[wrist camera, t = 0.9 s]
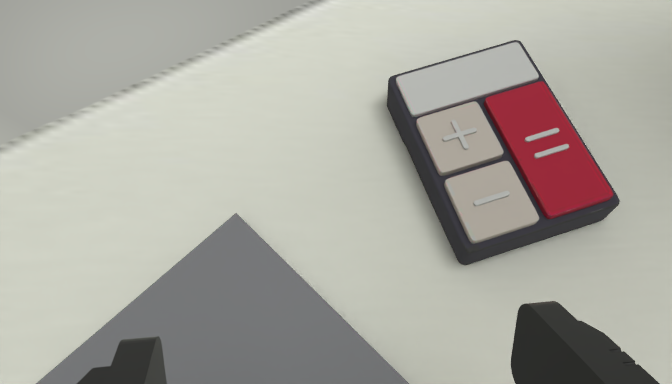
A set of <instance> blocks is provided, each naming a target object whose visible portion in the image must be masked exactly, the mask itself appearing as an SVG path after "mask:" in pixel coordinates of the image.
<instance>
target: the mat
mask: <svg viewBox="0 0 672 384" xmlns="http://www.w3.org/2000/svg"><path fill="white" fill-rule="evenodd" d="M156 336H159V337H160V339H161V343H162V350H163V358H164V366H165V373H166V381H167V384H409V383H408V382H407V381H406V380H405V379H404V378H403V377H402V376H401V375H400V374H399V373H398V372H397V371H396V370H395V369H394V368H393V367H392V366H391V365H389V364H388V363H387V362H386V361H385V360H384V359H383V358H382V357H381V356H380V355H379V354H378V353H377V352H376V351H375V350H374V349H373V348H372V347H371V346H370V345H369V344H368V343H367V342H366V341H365V340H364V339H363V338H362V337H361V336H360V335H359V334H358V333H357V332H356V331H355V330H354V329H353V328H352V327H351V326H350V325H349V324H348V323H347V322H346V321H345V320H344V319H343V318H342V317H341V316H340V315H339V314H338V313H337V312H336V311H335V310H334V309H333V308H332V307H331V306H330V305H329V304H328V303H327V302H326V301H325V300H324V299H323V298H322V297H321V296H320V295H319V294H318V293H317V292H316V291H315V290H314V289H312V288H311V287H310V286H309V285H308V284H307V283H306V282H305V281H304V280H303V279H302V278H301V277H300V276H299V275H298V274H297V273H296V272H295V271H294V270H293V269H292V268H291V267H290V266H289V265H288V264H287V263H286V262H285V261H284V260H283V259H282V258H281V257H280V256H279V255H278V254H277V253H276V252H275V251H274V250H273V249H272V248H271V247H270V246H269V245H268V244H267V243H266V242H265V241H264V240H263V239H262V238H261V237H260V236H259V235H258V234H257V233H256V232H255V231H254V230H253V229H252V228H251V227H250V226H249V225H248V224H247V223H246V222H245V221H244V220H243V219H242V218H241V217H240V216H239V215H238V214H237V213H236V214H234V215H233V216H232V217H231V218H230V219H229V220H227V221H226V222H225V223H224V224H223V225H221V226H220V227H219V228H218V229H217V230H216V231H214V232H213V233H212V234H211V235H210V236H209V237H207V238H206V239H205V240H204V241H203V242H202V243H200V244H199V245H198V246H197V247H196V248H195V249H193V250H192V251H191V252H190V253H189V254H187V255H186V256H185V257H184V258H183V259H182V260H180V261H179V262H178V263H177V264H176V265H175V266H173V267H172V268H171V269H170V270H169V271H168V272H166V273H165V274H164V275H163V276H162V277H161V278H159V279H158V280H157V281H156V282H155V283H153V284H152V285H151V286H150V287H149V288H148V289H146V290H145V291H144V292H143V293H142V294H141V295H139V296H138V297H137V298H136V299H135V300H134V301H132V302H131V303H130V304H129V305H128V306H127V307H125V308H124V309H123V310H122V311H121V312H120V313H118V314H117V315H116V316H115V317H114V318H112V319H111V320H110V321H109V322H108V323H107V324H105V325H104V326H103V327H102V328H101V329H100V330H98V331H97V332H96V333H95V334H94V335H93V336H91V337H90V338H89V339H88V340H87V341H86V342H84V343H83V344H82V345H81V346H80V347H78V348H77V349H76V350H75V351H74V352H73V353H71V354H70V355H69V356H68V357H67V358H66V359H64V360H63V361H62V362H61V363H60V364H59V365H57V366H56V367H55V368H54V369H53V370H52V371H50V372H49V373H48V374H47V375H46V376H45V377H43V378H42V379H41V380H40V381H39V382H37V383H36V384H77V383H78V382H79V381H80V380H81V379H82V378H83V377H84V376H85V375H86V374H87V373H88V372H89V371H90V370H91V369H92V368H96V367H106V366H111V364H112V361H113V358H114V356H115V353H116V350H117V347H118V345H119V342H120V341H121V340H123V339H134V338H145V337H156Z"/></svg>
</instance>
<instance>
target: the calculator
mask: <svg viewBox="0 0 672 384" xmlns="http://www.w3.org/2000/svg"><path fill="white" fill-rule="evenodd" d="M387 107H388V109H389V111H390V114H391V116H392V118H393V120H394V122H395V125H396V127H397V129H398V131H399V133H400V136H401V138H402V140H403V142H404V143H405V145H406V146H407V148H408V151H409V153H410V155H411V157H412V160H413V162H414V164H415V166H416V169H417V171H418V173H419V175H420V178H421V180H422V182H423V185H424V187H425V189H426V191H427V194H428V196H429V198H430V200H431V203H432V205H433V207H434V209H435V212H436V214H437V216H438V218H439V220H440V223H441V225H442V227H443V229H444V231H445V234H446V236H447V238H448V240H449V242H450V245H451V247H452V249H453V251H454V253H455V255H456V258H457V260H458V261H459V263H461V264H463V265H467V264H471V263H474V262H477V261H480V260H483V259H486V258H489V257H492V256H495V255H498V254H501V253H504V252H507V251H510V250H513V249H516V248H519V247H523V246H526V245H529V244H532V243H535V242H538V241H541V240H544V239H547V238H550V237H553V236H556V235H559V234H562V233H565V232H568V231H571V230H574V229H577V228H580V227H583V226H586V225H589V224H592V223H595V222H598V221H601V220H603V219H604V218H605V217H606V216H607V215H608V214H609V213H610V212H611V211H612V210H613V209H615V208H616V207H617V206H618V204H619V198H618V196H617V195H616V193H615V191H614V190H613V188H612V186H611V185H610V183H609V182H608V180H607V178H606V177H605V175H604V174H603V172H602V170H601V169H600V167H599V166H598V164H597V163H596V161H595V159H594V158H593V156H592V155H591V153H590V151H589V150H588V148H587V147H586V145H585V143H584V142H583V140H582V139H581V137H580V135H579V134H578V132H577V131H576V129H575V127H574V126H573V124H572V123H571V121H570V119H569V118H568V116H567V115H566V113H565V111H564V110H563V108H562V107H561V105H560V103H559V102H558V100H557V99H556V97H555V95H554V94H553V92H552V91H551V89H550V87H549V86H548V84H547V83H546V81H545V79H544V78H543V76H542V75H541V73H540V71H539V70H538V68H537V67H536V65H535V63H534V62H533V60H532V59H531V57H530V55H529V54H528V52H527V51H526V49H525V47H524V46H523V44H522V43H521V42H520V41H518V40H514V41H510V42H507V43H503V44H500V45H497V46H493V47H490V48H486V49H483V50H480V51H476V52H473V53H469V54H466V55H463V56H459V57H456V58H452V59H449V60H446V61H442V62H439V63H435V64H432V65H428V66H425V67H422V68H418V69H415V70H411V71H408V72H405V73H401V74H398V75H394V76H392V77H390V78H389V81H388V99H387Z"/></svg>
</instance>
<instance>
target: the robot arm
mask: <svg viewBox="0 0 672 384" xmlns="http://www.w3.org/2000/svg"><path fill="white" fill-rule="evenodd" d="M511 369H512V374H513V378H514V381H515V383H516V384H660V383H658V382H657V381H656V380H655V379H654V378H653V377H652V376H651V375H650V374H648V373H647V372H646V371H645V370H644V369H643V368H642V367H641V366H640V365H636V364H635V361H634V360H633V359H632V358H631V357H630V356H629V355H627V354H626V353H625V352H621V348H620V347H619V346H617V345H616V344H615V343H614V342H613V341H612V340H611V339H610V338H609V337H607V336H606V335H605V334H604V333H603V332H601V331H599V330H597V329H595V328H593V327H591V326H590V325H588V324H586V323H584V322H582V321H577V320H576V319H575V318H574V317H573V316H572V315H571V314H570V313H569V312H568V311H567V310H566V309H565V308H564V307H562V306H561V305H560V304H559V303H558V302H555V301H551V302H540V303H529V304H523V305H521V306H520V308H519V310H518V315H517V322H516V329H515V336H514V343H513V350H512V357H511ZM77 384H167V381H166V373H165V366H164V358H163V350H162V343H161V339H160V337H159V336H156V337H145V338H134V339H123V340H121V341H120V342H119V345H118V347H117V350H116V353H115V356H114V358H113V361H112V364H111V366H106V367H96V368H92V369H91V370H90V371H89V372H88V373H87V374H86V375H85V376H84V377H83V378H82V379H81V380H80V381H79V382H78V383H77Z"/></svg>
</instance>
